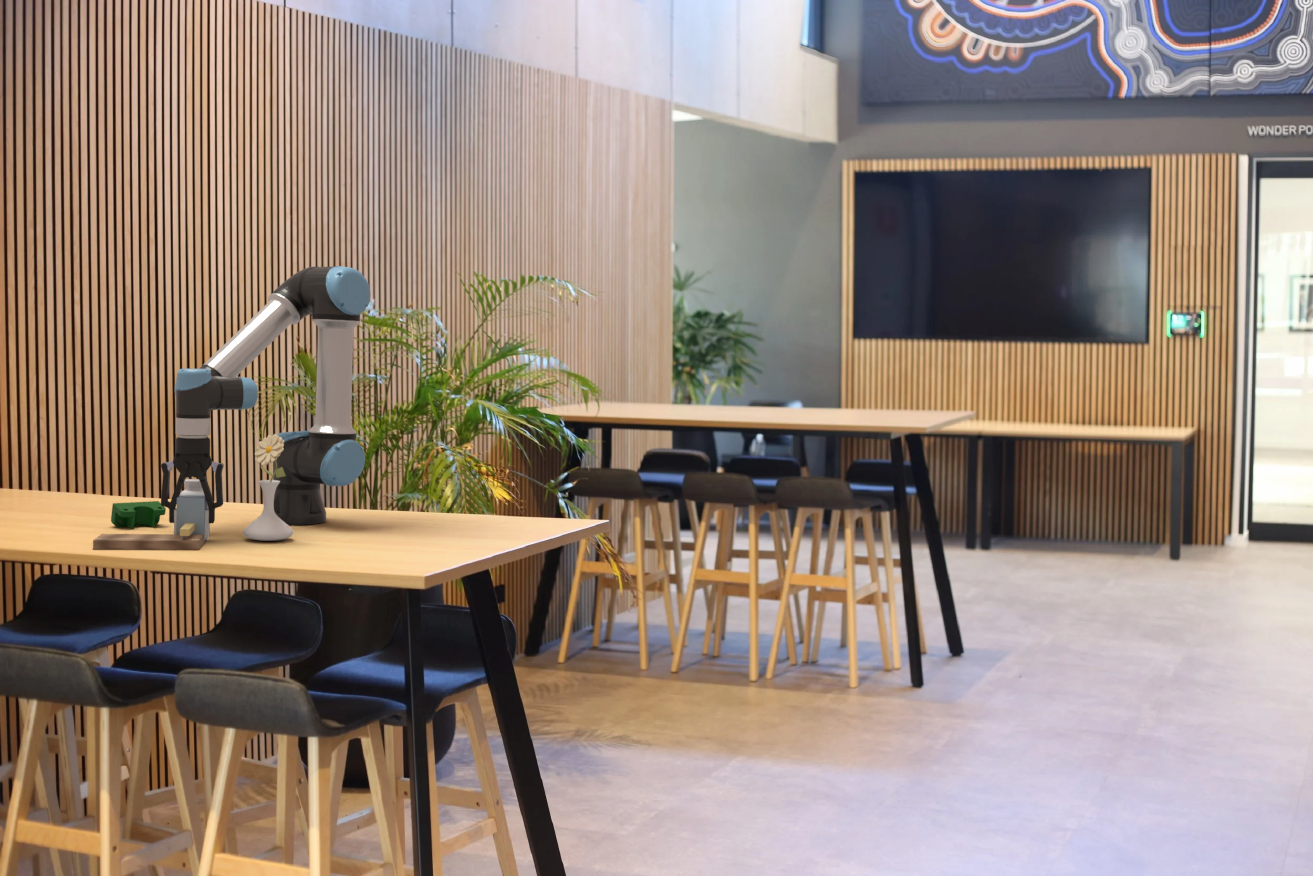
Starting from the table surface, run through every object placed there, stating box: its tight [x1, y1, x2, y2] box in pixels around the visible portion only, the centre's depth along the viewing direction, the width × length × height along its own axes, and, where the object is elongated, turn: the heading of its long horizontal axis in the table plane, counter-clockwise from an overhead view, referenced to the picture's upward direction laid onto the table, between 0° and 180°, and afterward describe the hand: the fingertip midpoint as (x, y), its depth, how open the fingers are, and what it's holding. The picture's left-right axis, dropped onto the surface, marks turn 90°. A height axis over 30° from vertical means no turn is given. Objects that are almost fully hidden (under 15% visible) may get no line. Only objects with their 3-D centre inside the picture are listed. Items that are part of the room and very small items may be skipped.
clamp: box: [110, 500, 167, 530], centre depth 350 cm, size 12×6×9 cm, turn 124°
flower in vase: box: [242, 433, 294, 542], centre depth 334 cm, size 13×11×25 cm
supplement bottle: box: [180, 478, 208, 509], centre depth 341 cm, size 7×7×13 cm
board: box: [92, 533, 205, 551], centre depth 320 cm, size 22×10×2 cm, turn 101°
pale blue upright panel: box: [176, 495, 208, 543], centre depth 325 cm, size 6×16×10 cm, turn 11°
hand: (191, 537), depth 330 cm, fingers closed on pale blue upright panel, 6 cm apart
